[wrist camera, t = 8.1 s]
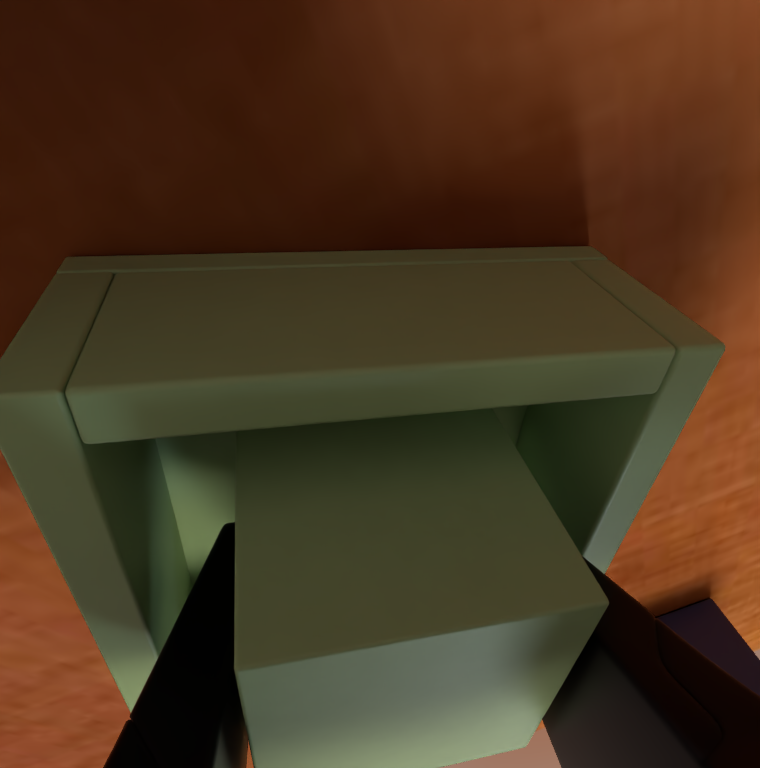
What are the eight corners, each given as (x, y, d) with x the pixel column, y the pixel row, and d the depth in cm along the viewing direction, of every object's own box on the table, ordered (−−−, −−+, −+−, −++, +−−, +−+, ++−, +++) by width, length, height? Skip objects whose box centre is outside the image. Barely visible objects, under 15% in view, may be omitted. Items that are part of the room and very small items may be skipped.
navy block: (711, 597, 21) (807, 720, 17) (698, 644, 24) (778, 759, 20) (605, 635, 21) (680, 766, 17) (605, 678, 24) (669, 798, 20)
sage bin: (591, 245, 10) (731, 345, 7) (497, 544, 15) (555, 668, 12) (64, 255, 8) (-29, 398, 5) (167, 593, 13) (148, 753, 11)
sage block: (479, 386, 10) (611, 602, 6) (446, 536, 13) (527, 748, 9) (235, 405, 9) (233, 671, 5) (254, 563, 12) (262, 810, 8)
